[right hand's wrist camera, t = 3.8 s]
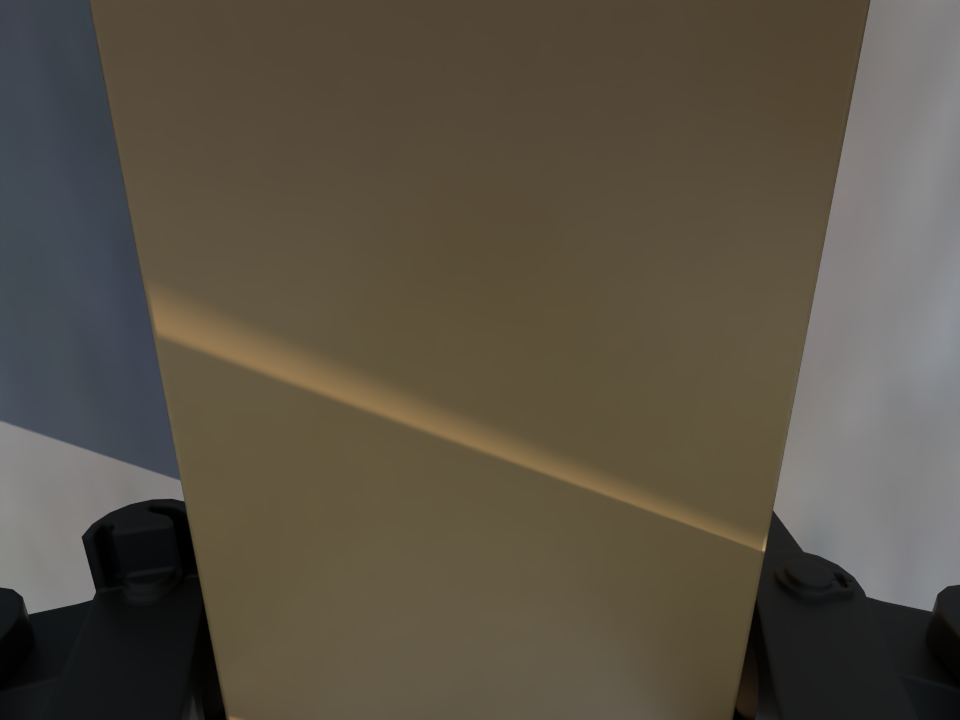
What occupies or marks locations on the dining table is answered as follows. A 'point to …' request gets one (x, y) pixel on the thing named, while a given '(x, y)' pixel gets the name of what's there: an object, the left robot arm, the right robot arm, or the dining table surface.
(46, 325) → the dining table surface
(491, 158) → the bar
